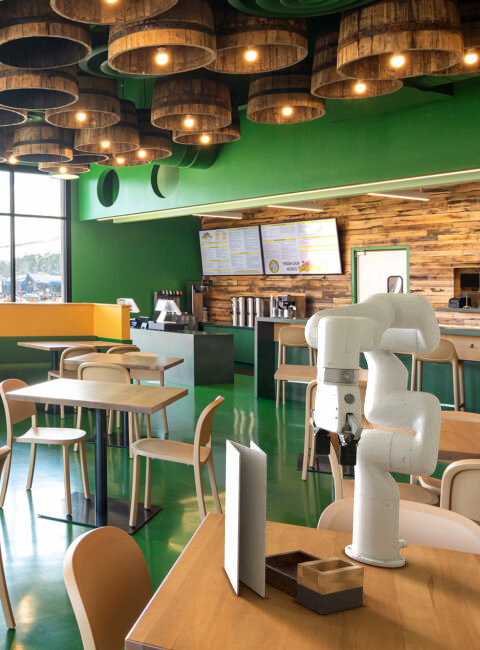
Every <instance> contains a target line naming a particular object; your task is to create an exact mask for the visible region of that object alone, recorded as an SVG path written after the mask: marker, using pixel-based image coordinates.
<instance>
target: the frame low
mask: <svg viewBox="0 0 480 650" xmlns="http://www.w3.org/2000/svg"><path fill="white" fill-rule="evenodd" d="M295 598H296V599H295V600H296V601H295V602H296V603H298V604H299V605H302V606H304V607H306V608H307V609H310V610H312V611H314V612H316V613H317V614H319V615H326V614H331V613H336V612H340V611H344V610H345V611H346V610H348V609H353V608H357V607H361V606H363V605H364V604H363V603H364V585H363V586H362V587H357V588H352V589H348V590H343V591H338V592H333V593H329V594H324V595H322V594H320V593H318V592H316V591H314V590H311V589H309V588H307V587H305V586H303V585H301V584H299V583H297V597H295Z"/></svg>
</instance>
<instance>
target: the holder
mask: <svg viewBox="0 0 480 650" xmlns="http://www.w3.org/2000/svg"><path fill="white" fill-rule="evenodd" d="M322 559H323V558H321V557H318V556H316V555H313V554H311V553H309V552H306V551H304V550H301V549H297V550H292V551H285V552H280V553H273V554H267V555H265V584H268V585H270V586H273V587H275V588H277V589H278V590H281V591H283V592H285V593H287V594H289V595H291V596H293V597H295V598H297V571H298V564H300V563H305V562H311V561H316V560H322Z"/></svg>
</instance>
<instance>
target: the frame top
mask: <svg viewBox="0 0 480 650" xmlns="http://www.w3.org/2000/svg"><path fill="white" fill-rule="evenodd" d="M321 559H322V560H316V561H311V562H305V563H300V564H298V571H297V583H299V584H301V585H303V586H305V587H307V588H309V589H311V590H314V591H316V592H318V593H320V594H322V595H324V594H329V593H333V592H338V591H343V590H348V589H352V588H357V587H362V586H363V587H364V578H365V577H364V576H365V566H363V565H360V564H357V563H355V562H352V561H350V560H348V559H345V558H343V557H340V556H333V557H327V558H321Z"/></svg>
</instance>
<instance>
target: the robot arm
mask: <svg viewBox="0 0 480 650" xmlns="http://www.w3.org/2000/svg"><path fill="white" fill-rule="evenodd" d="M304 337H305V341H306V343H307V345H309V346H310V347H311V348H312V349H314V350H317V365H316V366H317V367H316V383H317V387H316V393H315V394H316V395H315V403H314V404H315V405H314V411H312V412H311V417H312V418H311V419H312V426H313V436H314V443H313V454H314V455H320V456H330V455H331V445H332V444H331V443H332V436H331V435H330V434H331V433H333V434H334V435H335V434H336V435H338V437H339V440H340V443H341V444H339V447H338V449H339V451H338V465H339V466H344V467H354V497H353V520H352V521H353V525H352V526H353V527H352V544H348V545H347V546H345V548H344V549H345V550H344V553H345V554H346V555H347V557H349V558H351V559H352V560H355V561H357V562H361V563H363V564H367V565H371V566H375V567H381V568H401V567H403V566H405V565H406V558H405V557H404V556H403V555H402V554H400V550H401V549H406V548H408V547H409V543H408V541H407V540H405V539H399V526H400V504H401V503H400V502H401V501H400V500H401V492H400V487H399V484H398V483H397V481H396V480H395V478H394V477H393V476H392V474H391V473H399V474H405V475H410V476H417V477H430V476H432V475H433V474H434V473H435V472H436V468H437V464H438V458H439V447H440V438H441V427H442V406H441V402H440V399H439V398H438V397H437V396H436V395H435V394H433V393H430V392H427V391H417V390H408V382H409V371H408V369H407V367H406V365H405V364H404V363H403V362H402V360H401V359H399V357H398V356H397V355H396V354H394V352H398V353H412V354H413V353H415V354H430V353H433V352H435V351H436V350H437V349H438V348H439V346H440V342H441V328H440V325H439V321H438V319H437V316H436V312H435V310H434V307H433V305H432V303H431V301H430V300H429V299H428V298H427V297H426V296H425V295H423V294H421V293H413V292H412V293H411V292H410V293H407V292H406V293H405V292H404V293H403V292H379V293H378V292H377V293H373V294H370V295H368V296H367V297H365V298H363V299H362V300H361V301H359V302H357V303H351V304H346V305H341V306H335V307H330V308H325V309H321V310H320V311H318V312H316V313H314V314H313V315H312V316H311V317H310V318H309V319H308V321H307V323H306V325H305V329H304ZM361 353H363V355H364V357H365V360H366V362H367V367H368V378H367V379H368V380H367V384H366V391H365V400H364V408H363V410H364V411H363V412H364V417H365V419H366V420H367V422H369V423H370V424H373V425H375V426H380V427H387V428H394V429H395V428H396V429H402V430H409V431H414V432H415V433H416V434H412V433H404V432H397V431H391V430H383V429H377V428H376V429H375V428H366V429H364V427H363V425H362V399H361V391H360V386H359V378H360V377H359V376H360V354H361ZM346 436H347V437H346ZM390 472H391V473H390Z"/></svg>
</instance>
